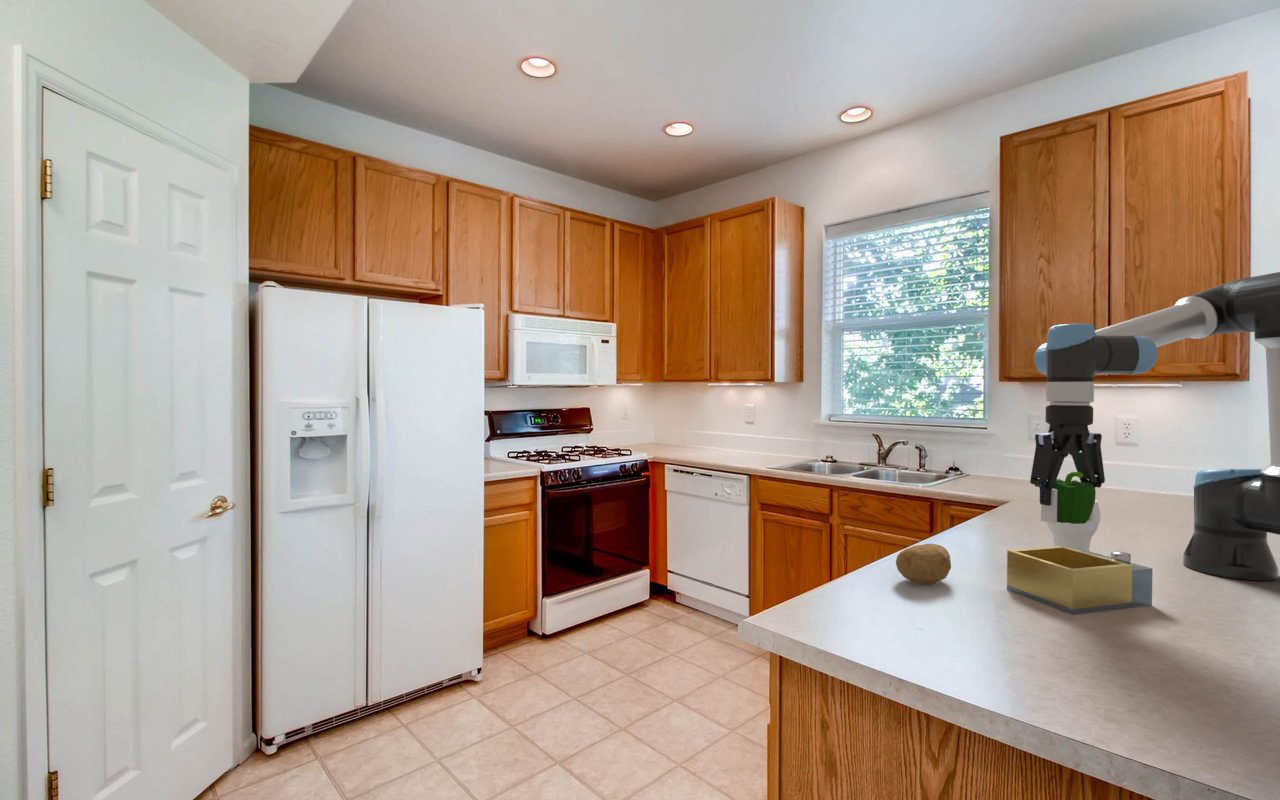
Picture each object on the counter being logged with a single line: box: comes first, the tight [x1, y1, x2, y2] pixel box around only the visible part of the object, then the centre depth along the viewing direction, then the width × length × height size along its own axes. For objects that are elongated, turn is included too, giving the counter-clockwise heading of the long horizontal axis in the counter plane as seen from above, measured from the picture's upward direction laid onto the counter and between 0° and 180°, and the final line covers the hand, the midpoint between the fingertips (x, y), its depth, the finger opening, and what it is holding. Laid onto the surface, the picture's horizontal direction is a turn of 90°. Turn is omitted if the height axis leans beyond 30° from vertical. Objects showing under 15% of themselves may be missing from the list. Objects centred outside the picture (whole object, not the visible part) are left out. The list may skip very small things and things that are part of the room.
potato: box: [895, 543, 952, 586], centre depth 125 cm, size 10×14×8 cm
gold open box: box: [1006, 546, 1153, 615], centre depth 116 cm, size 19×14×9 cm
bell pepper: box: [1047, 471, 1097, 524], centre depth 115 cm, size 8×8×10 cm
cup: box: [1046, 499, 1101, 552], centre depth 140 cm, size 11×11×15 cm
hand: (1067, 520), depth 115 cm, fingers closed on bell pepper, 8 cm apart
